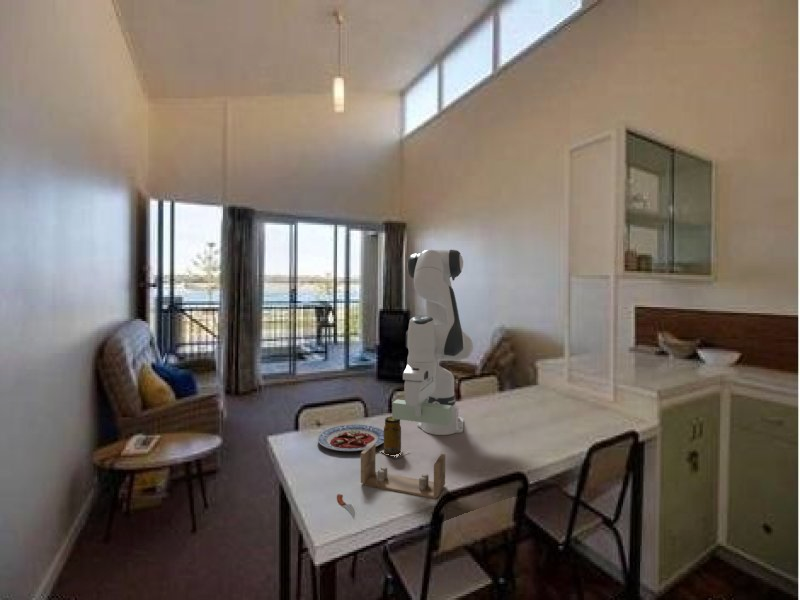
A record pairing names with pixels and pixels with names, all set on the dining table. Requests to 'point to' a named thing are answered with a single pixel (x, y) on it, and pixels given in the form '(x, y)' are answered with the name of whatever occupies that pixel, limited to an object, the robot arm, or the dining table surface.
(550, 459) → the dining table surface
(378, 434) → the ceramic plate
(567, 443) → the dining table surface
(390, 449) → the condiment
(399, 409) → the pale green rectangular block
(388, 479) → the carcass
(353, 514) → the knife
